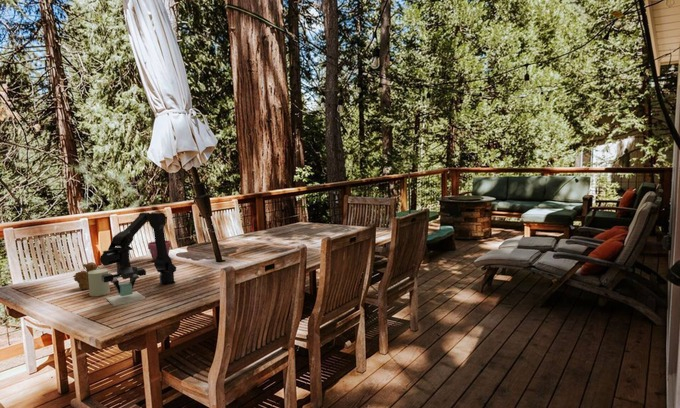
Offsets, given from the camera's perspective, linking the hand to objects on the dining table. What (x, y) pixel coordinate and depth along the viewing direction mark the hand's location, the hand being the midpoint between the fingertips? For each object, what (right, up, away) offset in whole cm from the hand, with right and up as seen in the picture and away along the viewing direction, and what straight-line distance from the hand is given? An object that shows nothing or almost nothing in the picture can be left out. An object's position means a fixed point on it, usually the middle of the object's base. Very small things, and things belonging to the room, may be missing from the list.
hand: (125, 292), depth 205 cm
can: (-18, -3, +10) cm, 22 cm away
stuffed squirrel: (-30, -2, +22) cm, 37 cm away
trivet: (0, -4, 0) cm, 4 cm away
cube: (0, -1, 0) cm, 1 cm away
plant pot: (-17, +4, +81) cm, 83 cm away
